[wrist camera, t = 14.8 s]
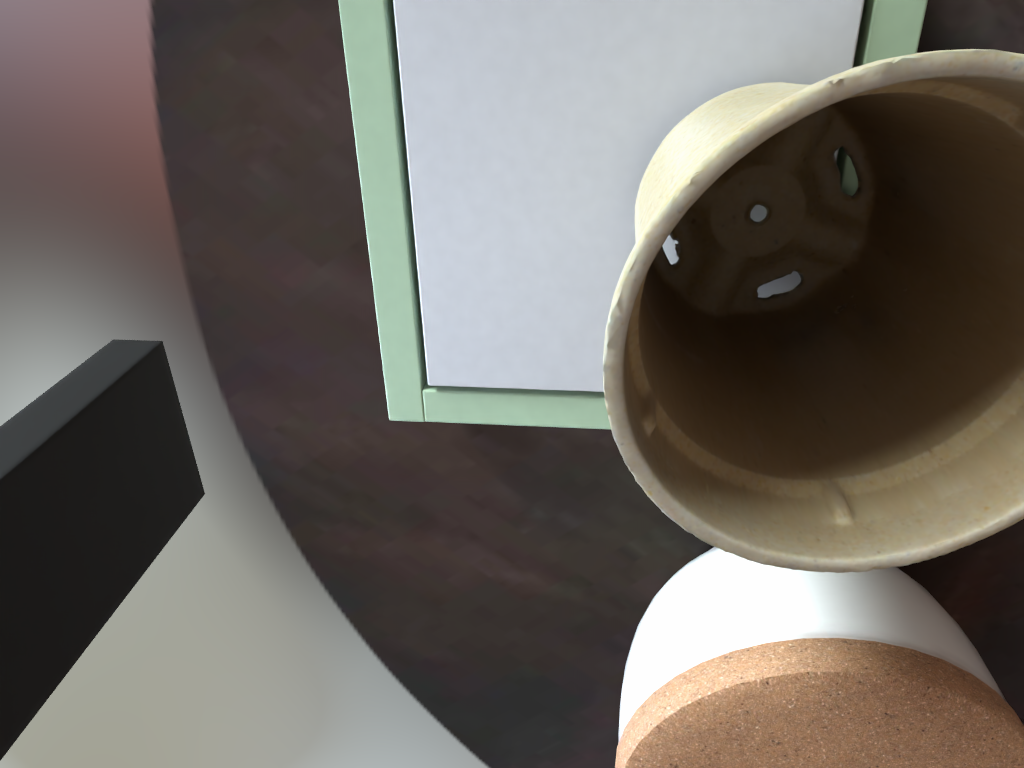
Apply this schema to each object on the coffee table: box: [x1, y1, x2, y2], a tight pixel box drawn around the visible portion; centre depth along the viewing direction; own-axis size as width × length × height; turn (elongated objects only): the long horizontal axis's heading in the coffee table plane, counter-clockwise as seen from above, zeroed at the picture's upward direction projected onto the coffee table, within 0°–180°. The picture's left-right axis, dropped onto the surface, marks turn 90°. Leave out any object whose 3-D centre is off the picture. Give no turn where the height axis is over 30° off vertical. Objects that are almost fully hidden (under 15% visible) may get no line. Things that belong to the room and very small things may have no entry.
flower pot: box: [603, 49, 1024, 573], centre depth 16 cm, size 9×9×9 cm
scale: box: [338, 0, 928, 429], centre depth 23 cm, size 15×14×4 cm
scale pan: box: [393, 0, 864, 392], centre depth 22 cm, size 11×11×2 cm
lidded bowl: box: [615, 547, 1024, 768], centre depth 27 cm, size 13×13×11 cm
